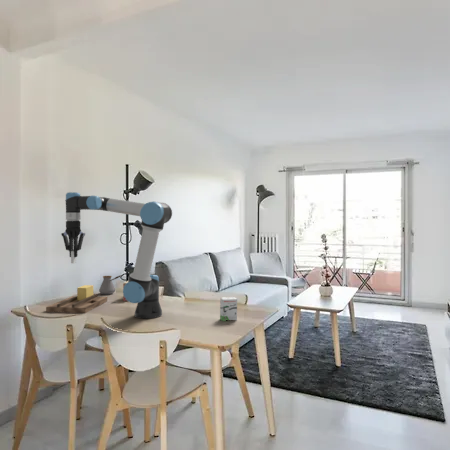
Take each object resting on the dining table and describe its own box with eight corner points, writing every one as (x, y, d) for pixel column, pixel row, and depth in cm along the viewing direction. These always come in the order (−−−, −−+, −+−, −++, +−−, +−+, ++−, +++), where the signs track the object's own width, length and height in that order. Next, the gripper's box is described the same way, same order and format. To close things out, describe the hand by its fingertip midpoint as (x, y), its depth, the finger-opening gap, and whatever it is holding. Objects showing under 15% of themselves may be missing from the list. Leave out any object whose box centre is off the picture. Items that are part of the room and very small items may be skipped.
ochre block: (93, 297, 252) (93, 285, 252) (86, 300, 242) (86, 288, 242) (84, 297, 253) (84, 285, 253) (77, 300, 243) (77, 287, 243)
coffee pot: (95, 294, 279) (95, 273, 278) (108, 291, 288) (108, 271, 288) (115, 297, 267) (115, 276, 267) (128, 294, 277) (128, 274, 277)
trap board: (107, 301, 254) (107, 294, 254) (85, 312, 222) (85, 304, 222) (72, 300, 256) (72, 293, 256) (46, 312, 225) (46, 303, 225)
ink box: (221, 321, 204) (221, 299, 204) (219, 319, 209) (219, 297, 209) (237, 320, 206) (237, 298, 206) (235, 318, 211) (235, 296, 211)
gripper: (58, 220, 209) (58, 263, 209) (81, 220, 208) (81, 263, 208) (65, 220, 216) (65, 262, 217) (87, 220, 215) (87, 262, 215)
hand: (73, 263), depth 212 cm, fingers closed
